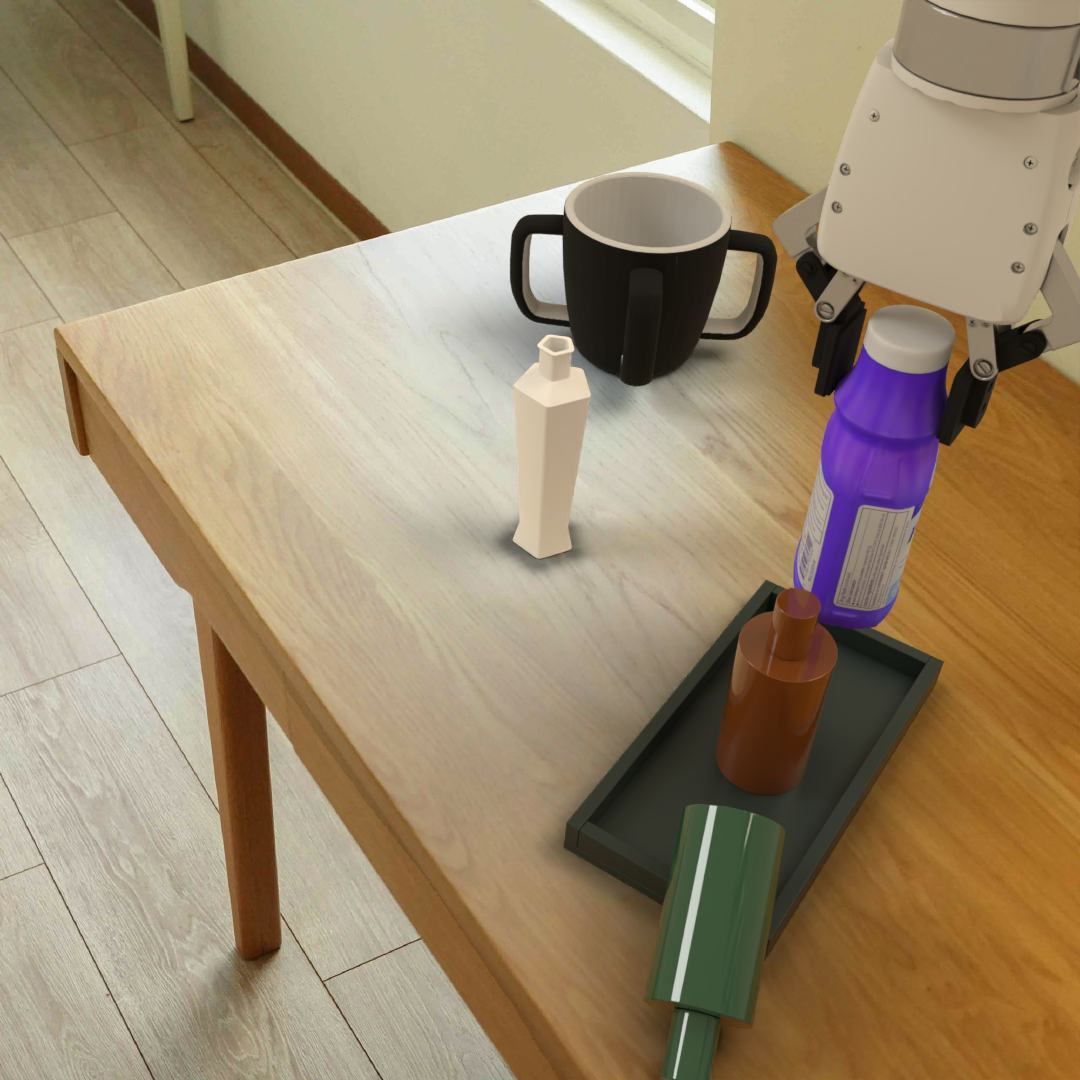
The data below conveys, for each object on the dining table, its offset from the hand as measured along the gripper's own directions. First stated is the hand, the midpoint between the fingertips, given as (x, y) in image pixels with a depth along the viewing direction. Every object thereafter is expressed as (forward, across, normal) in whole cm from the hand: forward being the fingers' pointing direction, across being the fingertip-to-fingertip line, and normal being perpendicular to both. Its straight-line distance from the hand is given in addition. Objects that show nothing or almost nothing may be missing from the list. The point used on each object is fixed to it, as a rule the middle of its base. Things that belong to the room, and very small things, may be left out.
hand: (892, 403), depth 66 cm
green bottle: (+14, -2, +16) cm, 22 cm away
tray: (+20, 0, +7) cm, 22 cm away
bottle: (+13, 0, 0) cm, 13 cm away
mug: (+21, +27, -24) cm, 42 cm away
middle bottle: (+20, 0, +7) cm, 21 cm away
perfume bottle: (+21, +20, -1) cm, 29 cm away
